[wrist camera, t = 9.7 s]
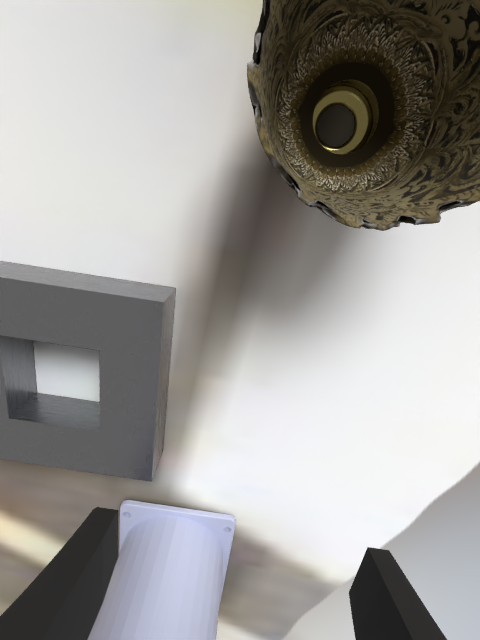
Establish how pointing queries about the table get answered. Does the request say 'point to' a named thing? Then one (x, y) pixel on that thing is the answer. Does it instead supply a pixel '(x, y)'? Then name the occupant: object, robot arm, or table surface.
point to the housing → (115, 370)
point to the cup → (372, 105)
